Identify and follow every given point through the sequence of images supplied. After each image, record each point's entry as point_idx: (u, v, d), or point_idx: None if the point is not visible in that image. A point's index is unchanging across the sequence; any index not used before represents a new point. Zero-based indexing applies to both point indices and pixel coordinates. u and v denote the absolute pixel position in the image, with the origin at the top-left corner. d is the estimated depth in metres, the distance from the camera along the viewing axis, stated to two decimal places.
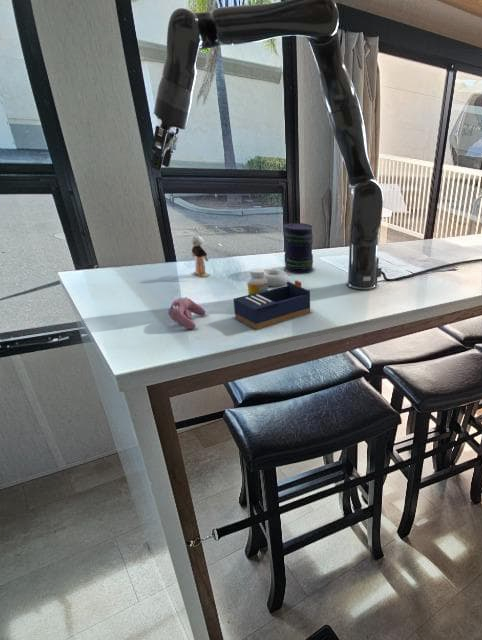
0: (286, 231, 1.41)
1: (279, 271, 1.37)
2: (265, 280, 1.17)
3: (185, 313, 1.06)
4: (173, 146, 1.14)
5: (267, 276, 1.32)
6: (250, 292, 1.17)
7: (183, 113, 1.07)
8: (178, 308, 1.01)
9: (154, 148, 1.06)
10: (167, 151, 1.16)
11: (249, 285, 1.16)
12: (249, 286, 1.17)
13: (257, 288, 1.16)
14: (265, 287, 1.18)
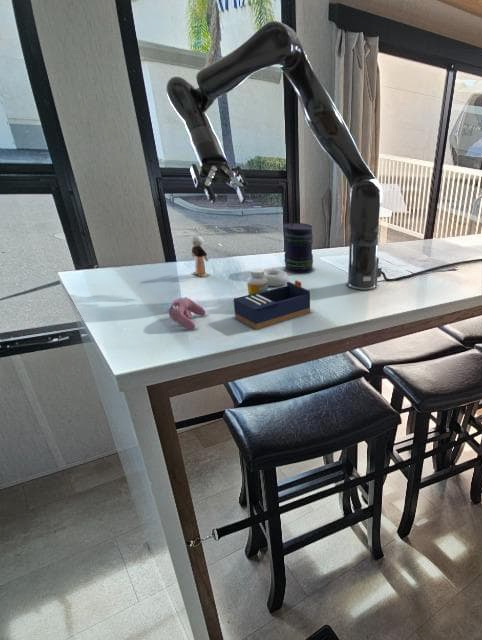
0: (286, 231, 1.41)
1: (279, 271, 1.37)
2: (265, 280, 1.17)
3: (185, 313, 1.06)
4: (232, 178, 1.19)
5: (267, 276, 1.32)
6: (250, 292, 1.17)
7: (203, 143, 1.15)
8: (178, 308, 1.01)
9: (196, 185, 1.15)
10: (237, 188, 1.21)
11: (249, 285, 1.16)
12: (249, 286, 1.17)
13: (257, 288, 1.16)
14: (265, 287, 1.18)
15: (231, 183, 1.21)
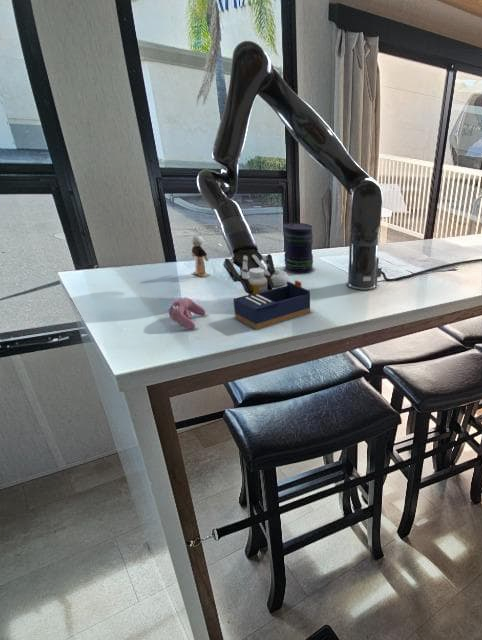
0: (286, 231, 1.41)
1: (279, 271, 1.37)
2: (265, 280, 1.17)
3: (185, 313, 1.06)
4: (260, 267, 1.19)
5: None
6: None
7: (234, 234, 1.15)
8: (178, 308, 1.01)
9: (233, 278, 1.15)
10: (265, 277, 1.20)
11: None
12: None
13: (257, 288, 1.16)
14: (265, 287, 1.18)
15: None
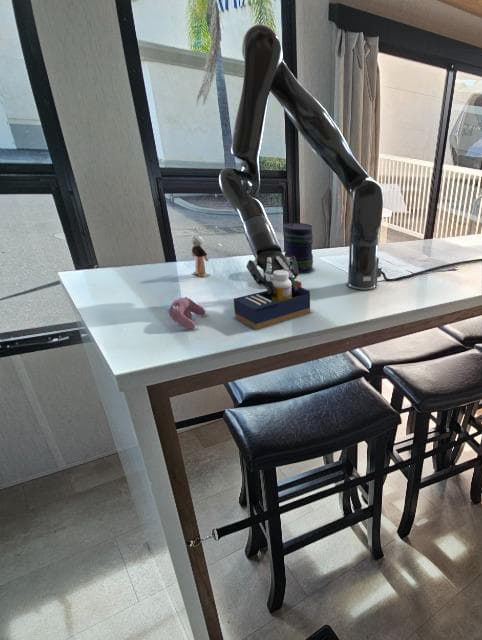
0: (286, 231, 1.41)
1: None
2: (289, 283, 1.13)
3: (185, 313, 1.06)
4: (284, 269, 1.14)
5: None
6: None
7: (258, 235, 1.10)
8: (178, 308, 1.01)
9: (257, 281, 1.11)
10: (289, 279, 1.15)
11: None
12: None
13: (281, 291, 1.12)
14: (289, 290, 1.13)
15: None
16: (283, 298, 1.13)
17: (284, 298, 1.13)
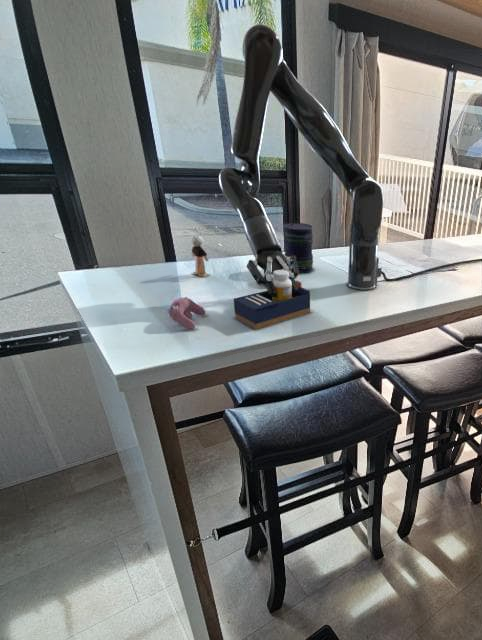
0: (286, 231, 1.41)
1: None
2: (290, 282, 1.13)
3: (185, 313, 1.06)
4: (284, 269, 1.14)
5: None
6: None
7: (258, 235, 1.10)
8: (178, 308, 1.01)
9: (257, 280, 1.11)
10: None
11: None
12: None
13: (281, 291, 1.12)
14: (289, 290, 1.13)
15: None
16: (283, 298, 1.13)
17: (284, 298, 1.13)
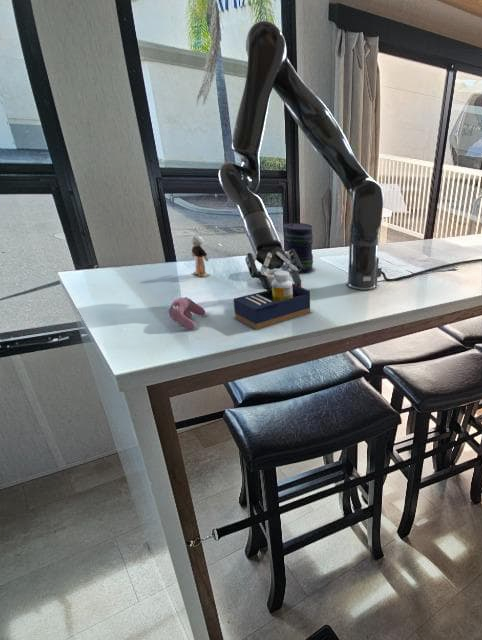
0: (286, 231, 1.41)
1: None
2: (290, 283, 1.13)
3: (185, 313, 1.06)
4: (287, 263, 1.14)
5: (267, 276, 1.32)
6: (275, 296, 1.13)
7: (258, 230, 1.10)
8: (178, 308, 1.01)
9: (251, 274, 1.09)
10: (292, 272, 1.15)
11: (274, 288, 1.12)
12: (274, 289, 1.12)
13: (282, 291, 1.12)
14: (290, 290, 1.13)
15: (285, 267, 1.15)
16: (284, 298, 1.13)
17: (285, 298, 1.13)
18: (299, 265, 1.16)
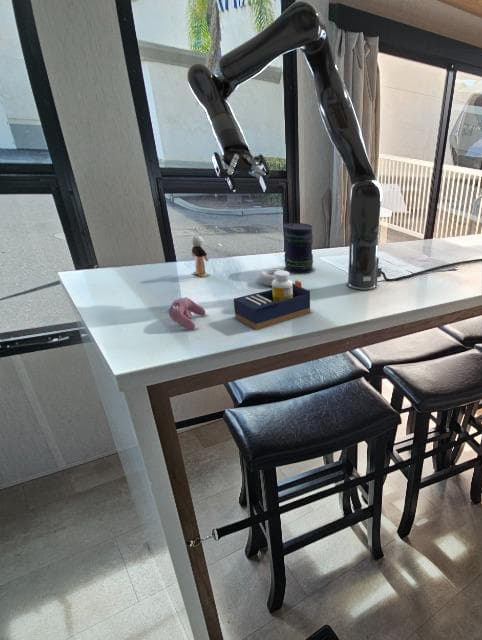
0: (286, 231, 1.41)
1: None
2: (290, 283, 1.13)
3: (185, 313, 1.06)
4: (254, 167, 1.15)
5: (267, 276, 1.32)
6: (275, 296, 1.13)
7: (225, 131, 1.11)
8: (178, 308, 1.01)
9: (218, 174, 1.11)
10: (260, 177, 1.17)
11: (274, 288, 1.12)
12: (274, 289, 1.12)
13: (282, 291, 1.12)
14: (290, 290, 1.13)
15: (254, 172, 1.16)
16: (284, 298, 1.13)
17: (285, 298, 1.13)
18: (267, 170, 1.17)
